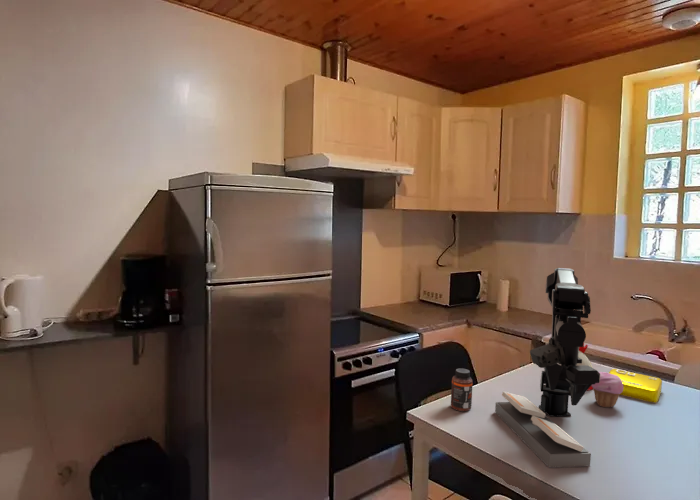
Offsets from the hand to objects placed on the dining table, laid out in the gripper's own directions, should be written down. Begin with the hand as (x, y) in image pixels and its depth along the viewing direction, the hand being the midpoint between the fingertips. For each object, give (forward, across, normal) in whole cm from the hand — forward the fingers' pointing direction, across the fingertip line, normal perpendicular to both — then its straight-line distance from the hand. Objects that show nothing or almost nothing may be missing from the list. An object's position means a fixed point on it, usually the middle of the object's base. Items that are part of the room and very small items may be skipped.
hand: (562, 397), depth 110 cm
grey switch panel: (+12, -4, -4) cm, 13 cm away
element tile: (+13, -32, +46) cm, 57 cm away
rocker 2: (+7, +4, -4) cm, 9 cm away
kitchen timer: (+12, -39, +29) cm, 50 cm away
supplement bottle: (+12, -21, -18) cm, 30 cm away
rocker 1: (+7, -12, -4) cm, 14 cm away
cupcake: (+12, -21, +28) cm, 37 cm away
